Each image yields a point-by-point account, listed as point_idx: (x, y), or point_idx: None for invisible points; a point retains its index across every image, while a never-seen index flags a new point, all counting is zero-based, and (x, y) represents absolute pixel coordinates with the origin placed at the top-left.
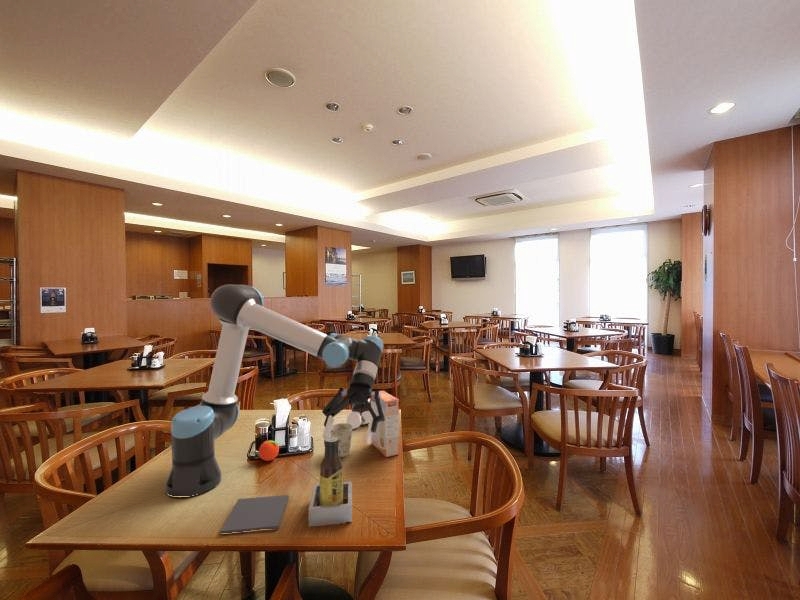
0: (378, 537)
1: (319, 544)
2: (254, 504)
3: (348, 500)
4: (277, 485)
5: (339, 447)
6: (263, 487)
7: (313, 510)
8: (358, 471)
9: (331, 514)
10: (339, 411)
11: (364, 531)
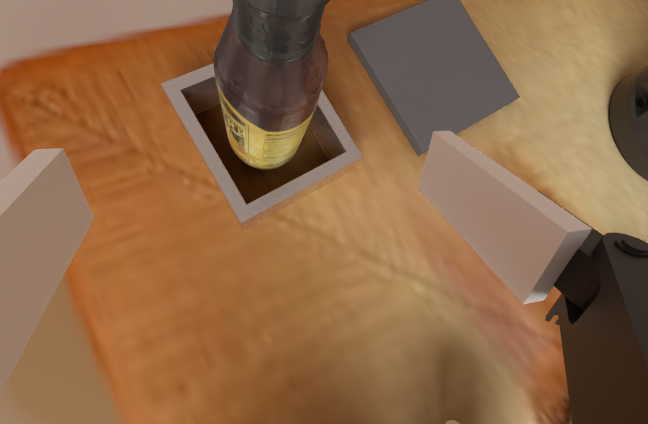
0: (61, 75)
1: (216, 17)
2: (468, 88)
3: (187, 106)
4: None
5: None
6: None
7: None
8: (308, 394)
9: None
10: (576, 394)
11: (117, 88)
